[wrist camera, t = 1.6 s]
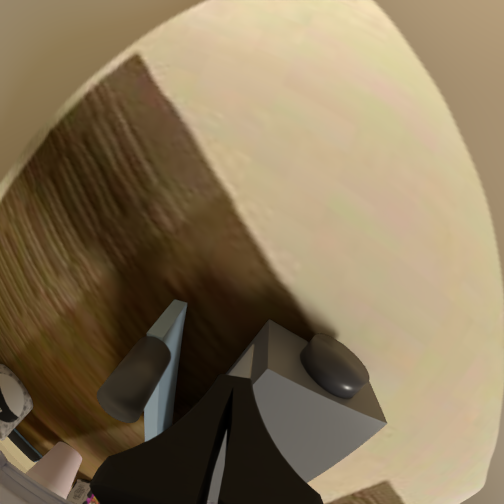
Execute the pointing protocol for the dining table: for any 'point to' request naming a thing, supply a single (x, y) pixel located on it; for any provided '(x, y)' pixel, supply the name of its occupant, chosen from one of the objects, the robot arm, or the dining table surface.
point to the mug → (12, 401)
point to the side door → (148, 375)
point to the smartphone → (24, 446)
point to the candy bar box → (81, 493)
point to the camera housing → (307, 400)
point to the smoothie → (57, 469)
